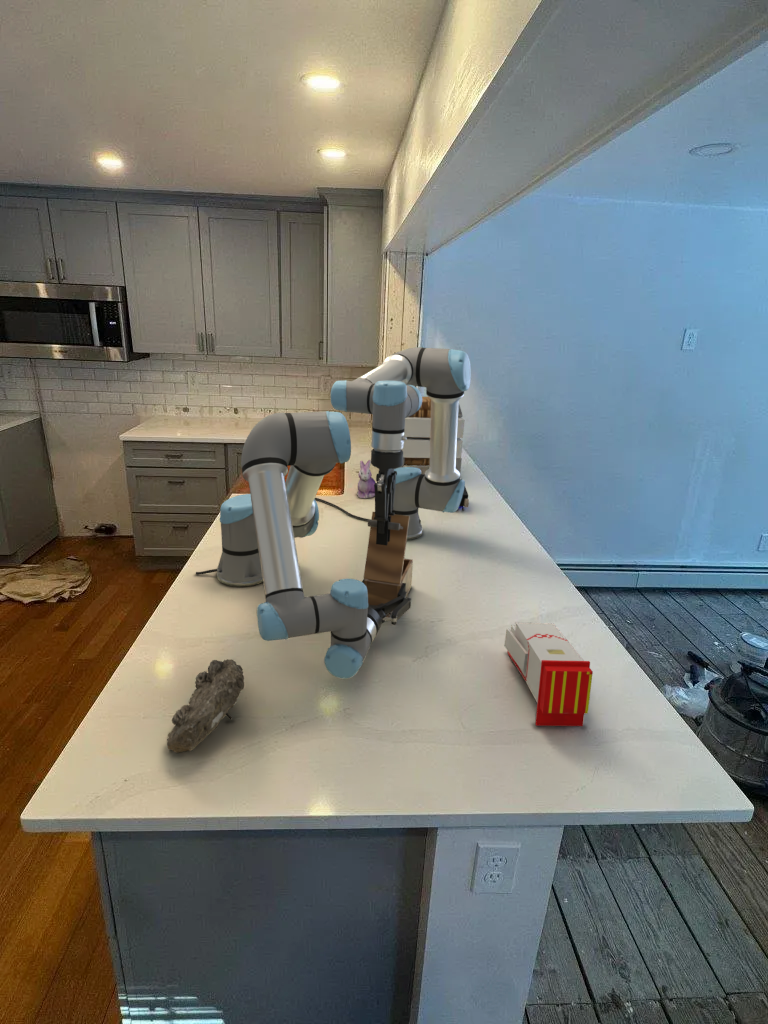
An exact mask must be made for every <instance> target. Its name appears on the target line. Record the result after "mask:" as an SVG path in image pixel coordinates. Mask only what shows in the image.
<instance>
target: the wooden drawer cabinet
mask: <svg viewBox="0 0 768 1024" xmlns="http://www.w3.org/2000/svg"><path fill="white" fill-rule="evenodd" d="M430 425H431V399H430V398H429V397H428V396H422V405H421V407H420V409H419V410H418V411H417V412H416V413H415V414H413V415H412V416H409V417H406V418H405V431H404V436H405V437H406V438H407V439H406V441H404V446H403V449H401V450H402V451H403V465H402V466H401V467H399V468H402V467H405V466H406V467H417V466H418V467H430ZM464 429H465V419H464V418H463V411H462V408H461V405H460V404H459V407H458V428H457V449H456V469H457V470H458V471H459V473H460V475H461V472H462V461H463V460H462V453H463V442H464V441H463V440H462V439H463V438H464V431H465V430H464ZM396 469H397V468H396Z"/></svg>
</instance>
